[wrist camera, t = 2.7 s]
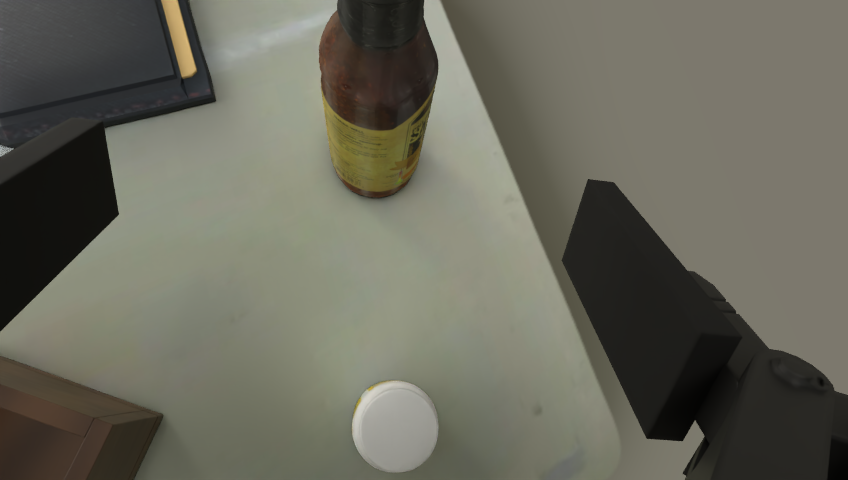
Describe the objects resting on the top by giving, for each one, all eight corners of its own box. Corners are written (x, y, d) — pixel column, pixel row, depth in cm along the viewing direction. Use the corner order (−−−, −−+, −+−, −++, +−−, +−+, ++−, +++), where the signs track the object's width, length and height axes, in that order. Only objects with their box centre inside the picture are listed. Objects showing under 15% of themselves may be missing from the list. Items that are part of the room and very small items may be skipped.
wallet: (-63, -106, 38) (156, -134, 41) (-44, -84, 40) (165, -112, 42) (-32, 142, 34) (211, 93, 36) (-12, 155, 36) (218, 107, 38)
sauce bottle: (419, 199, 38) (477, 23, 19) (332, 202, 37) (302, 21, 18) (413, 118, 40) (461, -120, 21) (330, 119, 39) (300, -128, 20)
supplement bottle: (388, 473, 33) (397, 504, 25) (337, 418, 34) (330, 432, 26) (440, 416, 35) (465, 429, 27) (390, 364, 35) (399, 361, 27)
